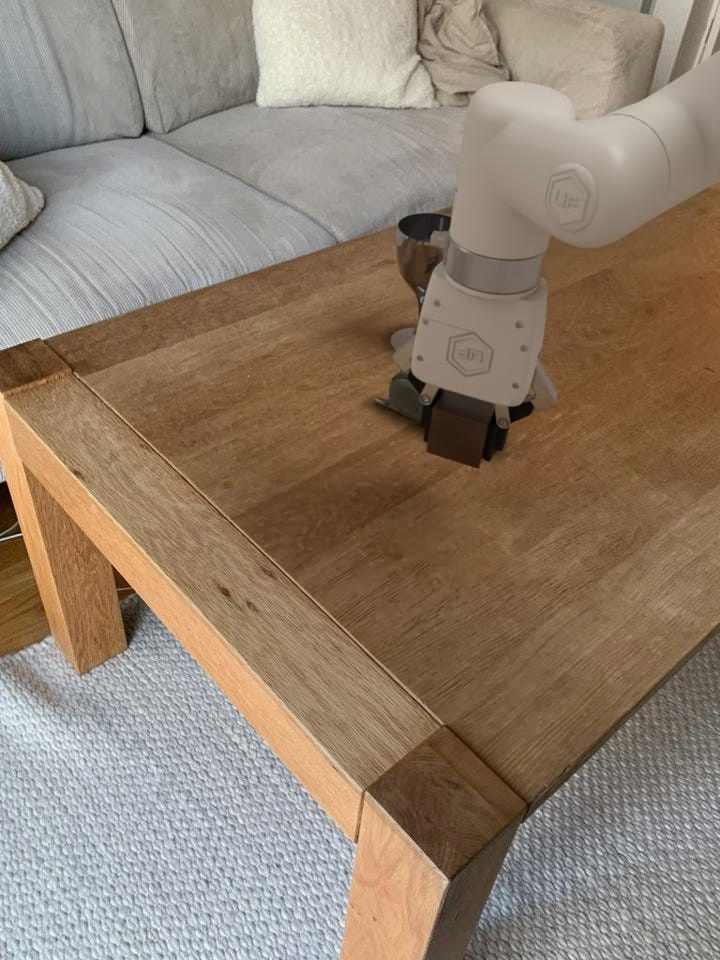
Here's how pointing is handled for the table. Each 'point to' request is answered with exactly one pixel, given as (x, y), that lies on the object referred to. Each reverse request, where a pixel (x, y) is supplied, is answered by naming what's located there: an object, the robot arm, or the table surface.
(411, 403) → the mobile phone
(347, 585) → the table surface
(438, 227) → the wine glass
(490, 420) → the walnut block
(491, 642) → the table surface
